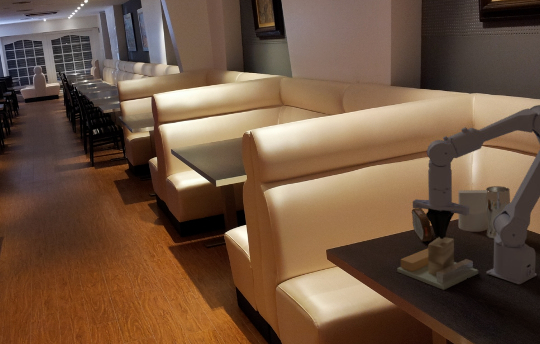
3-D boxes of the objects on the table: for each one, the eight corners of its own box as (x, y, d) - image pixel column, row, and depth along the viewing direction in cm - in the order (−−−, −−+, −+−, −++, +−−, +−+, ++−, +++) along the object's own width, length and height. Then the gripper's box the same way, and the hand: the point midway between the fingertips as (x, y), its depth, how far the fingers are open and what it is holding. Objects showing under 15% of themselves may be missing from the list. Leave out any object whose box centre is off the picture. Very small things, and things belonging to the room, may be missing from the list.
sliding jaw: (441, 259, 154) (441, 251, 153) (412, 271, 147) (412, 263, 147) (430, 255, 157) (430, 247, 156) (400, 267, 151) (400, 259, 150)
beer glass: (480, 234, 173) (480, 188, 169) (498, 230, 174) (499, 184, 171) (495, 241, 166) (495, 193, 163) (514, 237, 168) (515, 189, 164)
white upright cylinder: (459, 231, 176) (459, 195, 174) (457, 222, 185) (457, 187, 182) (489, 231, 174) (490, 195, 171) (486, 222, 183) (486, 187, 180)
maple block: (453, 266, 148) (453, 238, 147) (443, 276, 143) (442, 247, 141) (439, 263, 151) (439, 236, 149) (428, 273, 146) (428, 244, 144)
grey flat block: (478, 273, 146) (478, 261, 145) (443, 289, 138) (443, 276, 137) (431, 257, 158) (431, 245, 157) (397, 271, 151) (396, 259, 150)
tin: (432, 245, 167) (432, 218, 165) (422, 245, 167) (421, 219, 165) (420, 228, 182) (420, 204, 180) (410, 229, 182) (410, 204, 180)
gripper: (474, 186, 140) (473, 237, 143) (420, 180, 149) (421, 228, 152) (463, 193, 135) (463, 245, 138) (408, 187, 144) (409, 236, 147)
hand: (440, 237), depth 145 cm, fingers closed
